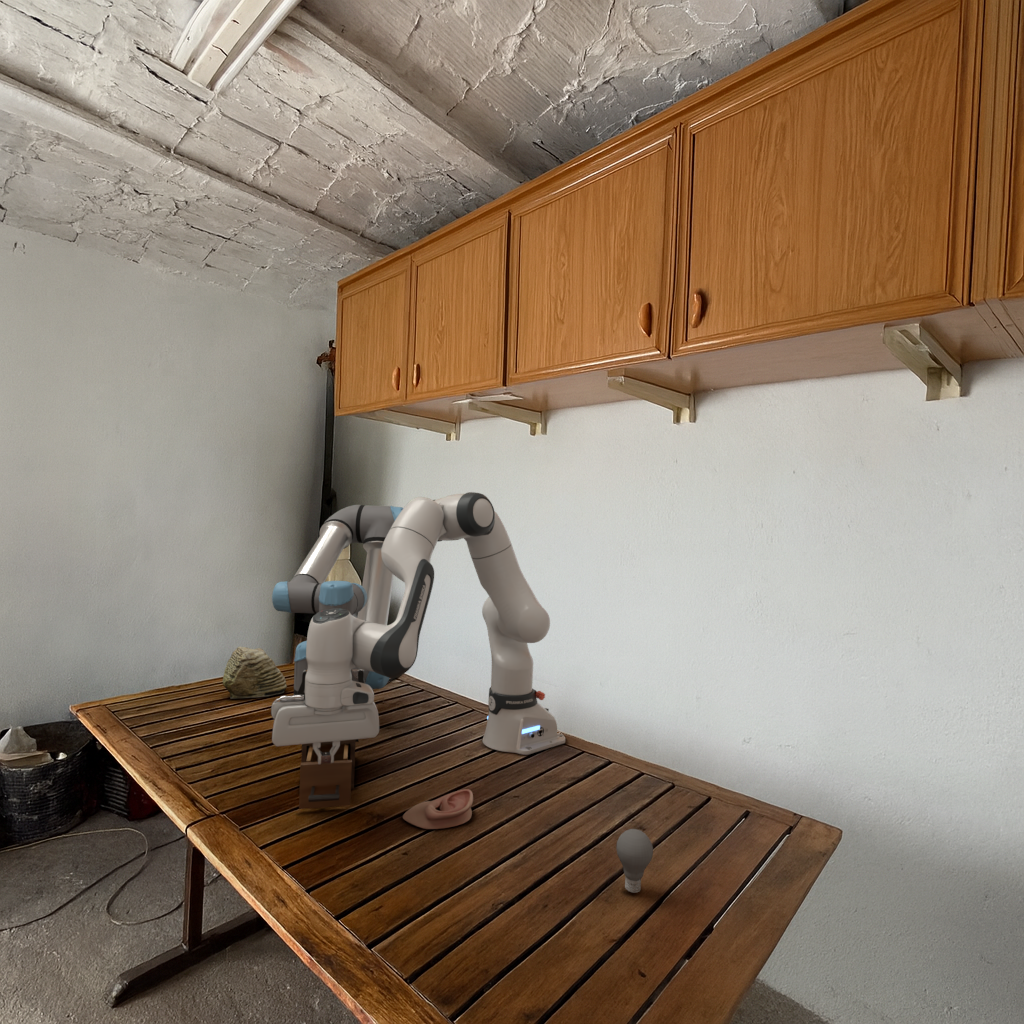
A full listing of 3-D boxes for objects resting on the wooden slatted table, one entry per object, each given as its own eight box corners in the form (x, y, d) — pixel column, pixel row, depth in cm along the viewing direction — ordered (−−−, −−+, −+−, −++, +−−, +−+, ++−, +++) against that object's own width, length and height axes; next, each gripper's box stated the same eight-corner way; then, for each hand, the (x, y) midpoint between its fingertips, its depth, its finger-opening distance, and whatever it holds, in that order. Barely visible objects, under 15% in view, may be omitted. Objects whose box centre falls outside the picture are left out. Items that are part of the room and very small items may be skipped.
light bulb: (610, 879, 108) (613, 822, 108) (644, 879, 109) (647, 822, 109) (619, 902, 102) (622, 840, 102) (655, 901, 103) (658, 840, 103)
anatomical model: (397, 804, 123) (417, 779, 135) (396, 824, 123) (417, 798, 135) (462, 814, 121) (478, 788, 132) (462, 835, 121) (477, 807, 132)
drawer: (349, 818, 123) (351, 773, 123) (296, 822, 121) (297, 776, 121) (351, 773, 143) (352, 734, 143) (305, 776, 141) (306, 736, 141)
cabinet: (353, 788, 138) (355, 739, 138) (300, 792, 135) (301, 741, 135) (354, 758, 154) (356, 713, 154) (306, 760, 151) (308, 715, 151)
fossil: (218, 695, 195) (220, 647, 195) (278, 685, 208) (279, 640, 207) (228, 703, 189) (230, 653, 188) (289, 692, 201) (290, 645, 201)
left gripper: (279, 652, 142) (275, 749, 142) (386, 651, 147) (382, 744, 147) (283, 644, 149) (279, 737, 149) (385, 643, 154) (381, 732, 155)
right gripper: (271, 701, 118) (268, 775, 118) (382, 694, 125) (379, 763, 125) (271, 691, 124) (269, 761, 124) (377, 685, 131) (374, 751, 131)
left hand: (330, 741), depth 148 cm, fingers closed on cabinet, 11 cm apart
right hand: (325, 762), depth 125 cm, fingers closed
